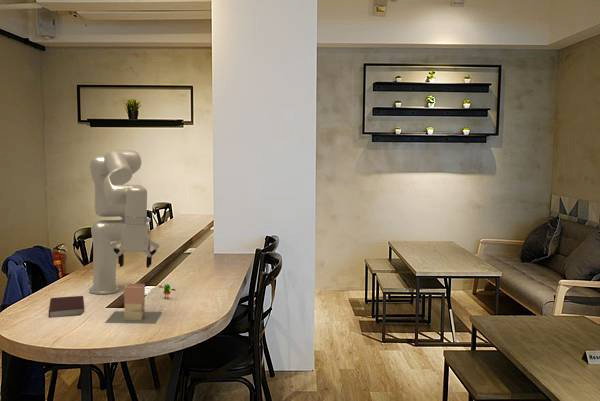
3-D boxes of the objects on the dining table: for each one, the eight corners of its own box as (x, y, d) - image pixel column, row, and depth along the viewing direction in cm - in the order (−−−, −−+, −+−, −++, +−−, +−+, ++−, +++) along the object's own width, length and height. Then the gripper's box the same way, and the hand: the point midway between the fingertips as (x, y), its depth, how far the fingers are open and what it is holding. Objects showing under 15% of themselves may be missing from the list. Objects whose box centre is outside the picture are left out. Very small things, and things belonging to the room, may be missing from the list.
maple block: (128, 314, 204) (128, 299, 203) (144, 314, 204) (144, 299, 204) (124, 319, 198) (124, 303, 197) (141, 319, 198) (141, 303, 198)
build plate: (114, 313, 208) (114, 311, 207) (162, 314, 209) (162, 312, 209) (104, 325, 194) (104, 322, 194) (155, 326, 195) (155, 323, 195)
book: (48, 319, 200) (48, 310, 199) (50, 304, 217) (50, 296, 217) (84, 316, 205) (84, 308, 204) (83, 302, 222) (83, 294, 222)
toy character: (169, 304, 224) (169, 288, 224) (148, 299, 231) (148, 283, 230) (187, 298, 234) (187, 283, 233) (167, 294, 240) (167, 279, 239)
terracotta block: (128, 299, 203) (128, 283, 203) (144, 299, 204) (144, 283, 203) (124, 303, 197) (124, 287, 197) (140, 303, 198) (141, 287, 197)
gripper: (161, 220, 202) (160, 265, 204) (114, 218, 201) (113, 263, 203) (158, 223, 195) (156, 269, 197) (109, 221, 194) (108, 268, 195)
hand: (134, 266), depth 200 cm, fingers open, 9 cm apart
